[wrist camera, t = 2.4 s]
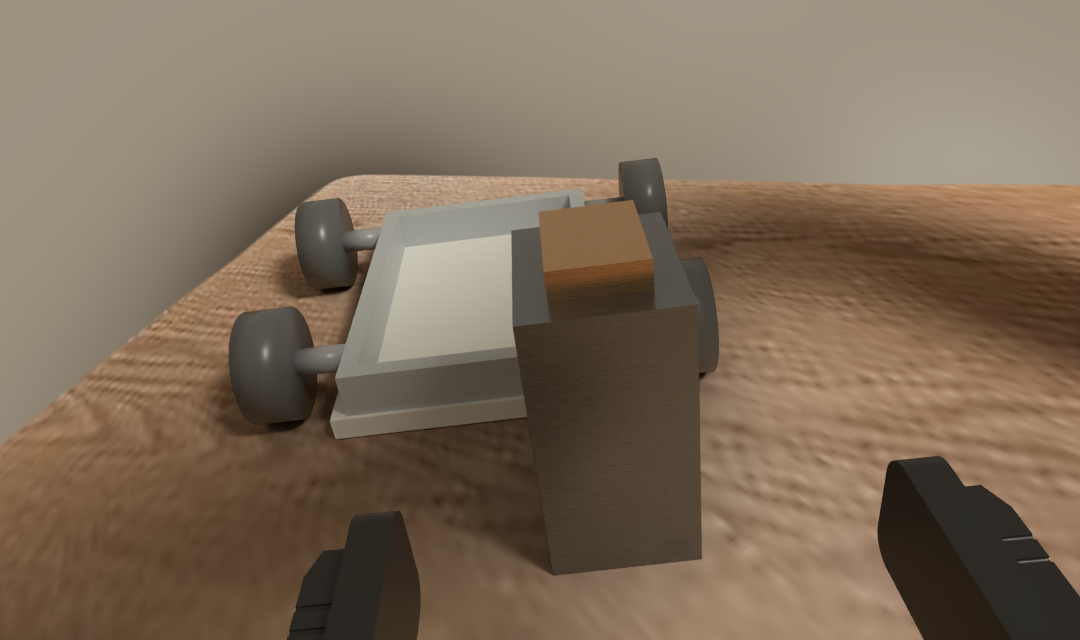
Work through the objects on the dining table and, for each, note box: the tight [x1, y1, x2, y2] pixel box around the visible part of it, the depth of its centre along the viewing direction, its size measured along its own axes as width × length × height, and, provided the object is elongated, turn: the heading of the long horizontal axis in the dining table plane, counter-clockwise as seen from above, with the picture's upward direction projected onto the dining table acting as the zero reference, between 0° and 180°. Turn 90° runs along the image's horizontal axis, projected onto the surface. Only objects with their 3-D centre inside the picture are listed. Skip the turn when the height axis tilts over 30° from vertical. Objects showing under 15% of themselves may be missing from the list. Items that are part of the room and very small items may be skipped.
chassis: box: [229, 158, 719, 439], centre depth 40 cm, size 20×17×5 cm
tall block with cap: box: [511, 200, 702, 575], centre depth 26 cm, size 5×6×11 cm
